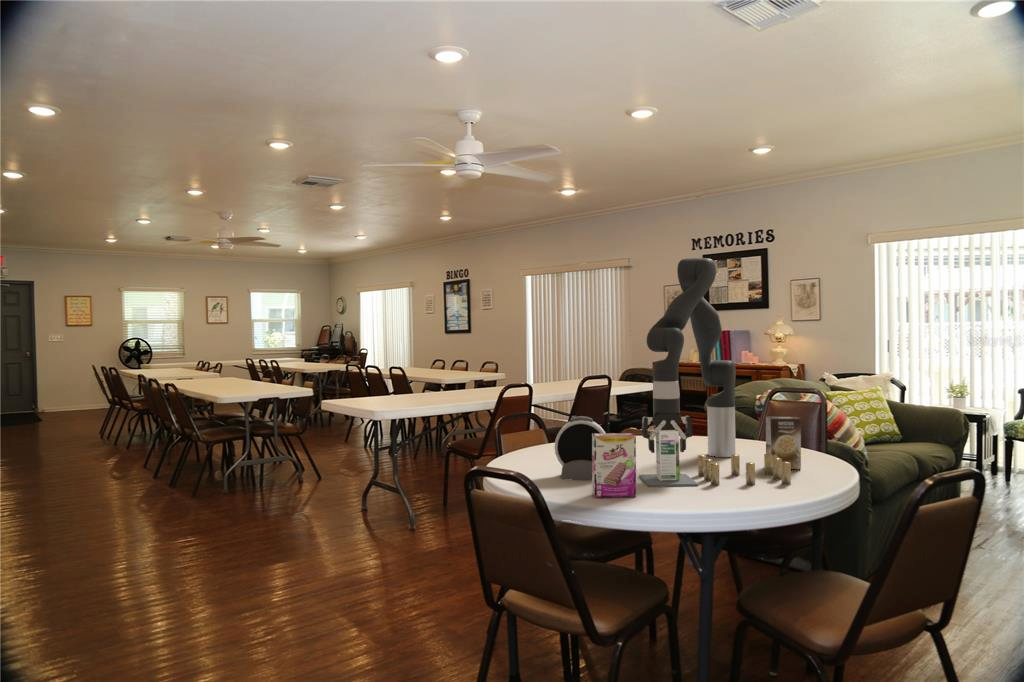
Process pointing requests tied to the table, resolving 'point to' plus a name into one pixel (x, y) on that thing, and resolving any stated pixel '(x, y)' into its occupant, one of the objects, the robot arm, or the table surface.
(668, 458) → the syrup box
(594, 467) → the candy bar box
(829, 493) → the table surface
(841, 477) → the table surface
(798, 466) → the coffee box
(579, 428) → the alarm clock
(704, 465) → the spacer field
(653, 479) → the mat
